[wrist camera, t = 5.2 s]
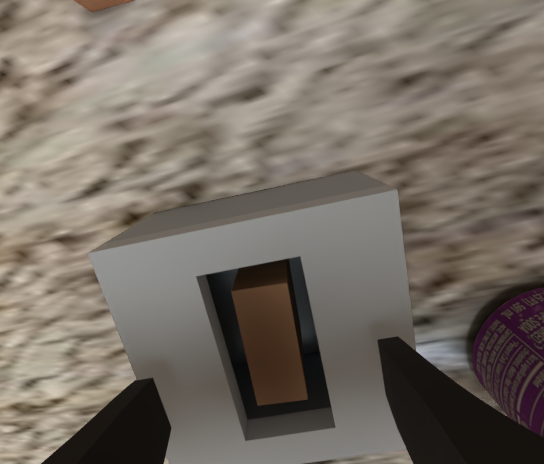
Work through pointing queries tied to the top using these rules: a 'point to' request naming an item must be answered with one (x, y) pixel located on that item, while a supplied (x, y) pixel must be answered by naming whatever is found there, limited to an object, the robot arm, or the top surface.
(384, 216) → the coin box
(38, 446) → the top surface
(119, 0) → the block
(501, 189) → the top surface
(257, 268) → the block
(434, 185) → the top surface
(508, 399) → the beverage can
